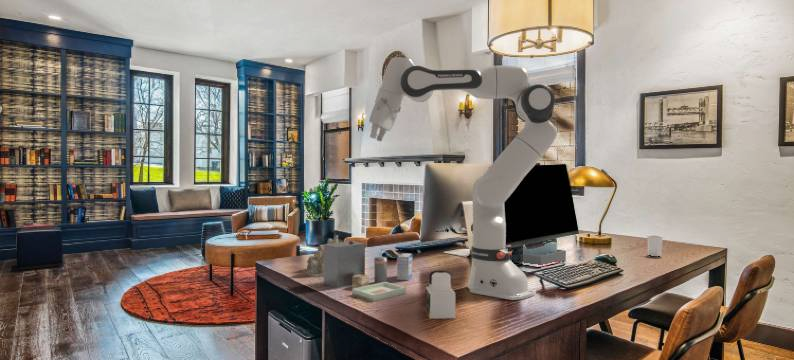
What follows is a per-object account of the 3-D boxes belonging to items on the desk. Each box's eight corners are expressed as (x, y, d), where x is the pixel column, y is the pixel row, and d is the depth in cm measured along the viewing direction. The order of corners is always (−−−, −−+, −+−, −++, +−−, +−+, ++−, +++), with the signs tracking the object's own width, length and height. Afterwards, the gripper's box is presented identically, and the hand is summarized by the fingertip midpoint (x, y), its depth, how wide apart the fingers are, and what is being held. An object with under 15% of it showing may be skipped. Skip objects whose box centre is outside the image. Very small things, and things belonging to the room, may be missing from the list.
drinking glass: (663, 257, 213) (664, 237, 213) (647, 256, 216) (648, 236, 216) (661, 255, 220) (661, 235, 220) (645, 254, 222) (646, 234, 222)
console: (364, 282, 160) (365, 241, 159) (337, 288, 151) (337, 245, 151) (350, 278, 166) (350, 239, 166) (323, 283, 158) (323, 242, 157)
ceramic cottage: (332, 265, 188) (331, 230, 187) (349, 274, 174) (348, 236, 173) (297, 271, 180) (295, 235, 179) (311, 282, 166) (309, 242, 165)
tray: (406, 293, 146) (406, 287, 146) (372, 301, 136) (372, 295, 136) (385, 287, 153) (385, 281, 153) (352, 294, 143) (352, 288, 143)
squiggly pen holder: (522, 265, 194) (522, 244, 194) (512, 261, 204) (512, 240, 204) (560, 264, 198) (560, 243, 198) (548, 260, 208) (548, 240, 207)
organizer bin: (565, 261, 202) (565, 250, 202) (540, 268, 187) (540, 256, 187) (537, 257, 212) (537, 246, 212) (511, 263, 197) (511, 251, 197)
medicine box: (408, 280, 163) (408, 257, 163) (396, 280, 164) (396, 256, 164) (412, 276, 171) (412, 253, 171) (400, 275, 172) (401, 252, 172)
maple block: (368, 287, 154) (368, 275, 154) (361, 289, 151) (362, 277, 150) (359, 285, 156) (359, 274, 156) (352, 287, 153) (352, 276, 153)
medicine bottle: (425, 311, 127) (425, 269, 127) (450, 310, 128) (450, 268, 128) (429, 319, 120) (429, 274, 120) (455, 318, 121) (455, 274, 121)
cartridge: (389, 283, 159) (389, 258, 159) (379, 285, 156) (380, 259, 156) (381, 280, 163) (381, 256, 162) (371, 282, 160) (371, 257, 159)
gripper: (390, 99, 146) (377, 139, 147) (401, 109, 166) (389, 144, 167) (372, 93, 147) (359, 133, 148) (385, 104, 167) (374, 139, 168)
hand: (375, 139), depth 158 cm, fingers open, 8 cm apart
